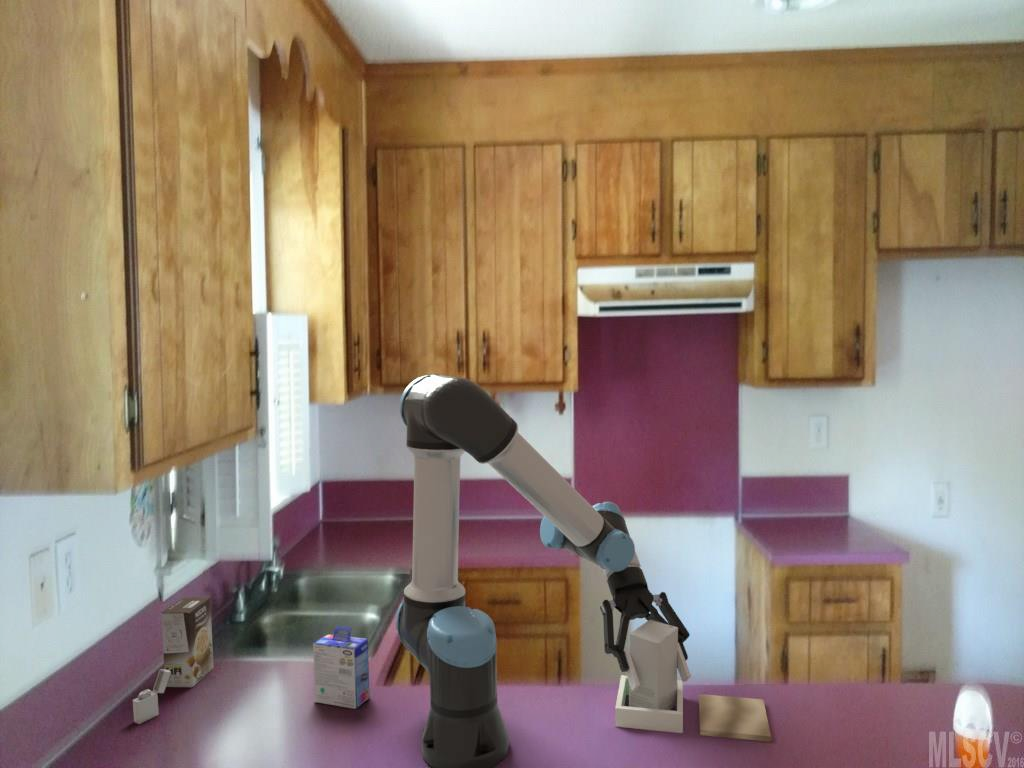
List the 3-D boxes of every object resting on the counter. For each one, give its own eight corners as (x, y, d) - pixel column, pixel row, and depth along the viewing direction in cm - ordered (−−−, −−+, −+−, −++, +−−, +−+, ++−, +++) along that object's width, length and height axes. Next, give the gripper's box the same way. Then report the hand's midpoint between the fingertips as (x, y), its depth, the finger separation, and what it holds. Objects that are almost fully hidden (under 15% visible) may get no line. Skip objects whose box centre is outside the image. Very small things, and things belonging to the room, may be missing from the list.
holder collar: (615, 726, 136) (615, 708, 135) (621, 692, 148) (621, 675, 148) (682, 733, 133) (682, 714, 133) (682, 697, 146) (682, 680, 145)
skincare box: (649, 695, 146) (649, 618, 145) (679, 705, 142) (680, 626, 141) (627, 712, 140) (627, 632, 138) (658, 724, 136) (659, 641, 134)
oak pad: (700, 734, 132) (700, 729, 132) (698, 698, 145) (698, 693, 145) (771, 741, 130) (771, 736, 129) (763, 704, 142) (763, 699, 142)
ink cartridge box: (371, 696, 149) (369, 626, 148) (357, 710, 144) (354, 638, 143) (329, 690, 152) (326, 621, 151) (313, 703, 147) (310, 632, 146)
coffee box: (193, 688, 154) (189, 613, 153) (164, 687, 155) (159, 612, 154) (214, 667, 163) (210, 596, 162) (186, 667, 164) (182, 596, 163)
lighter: (138, 724, 140) (136, 683, 140) (133, 721, 141) (130, 681, 141) (173, 707, 146) (170, 668, 146) (167, 705, 147) (165, 666, 147)
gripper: (666, 575, 157) (707, 681, 143) (567, 588, 151) (600, 700, 137) (679, 558, 152) (722, 666, 138) (577, 571, 145) (612, 685, 131)
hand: (661, 683), depth 137 cm, fingers closed on skincare box, 10 cm apart
